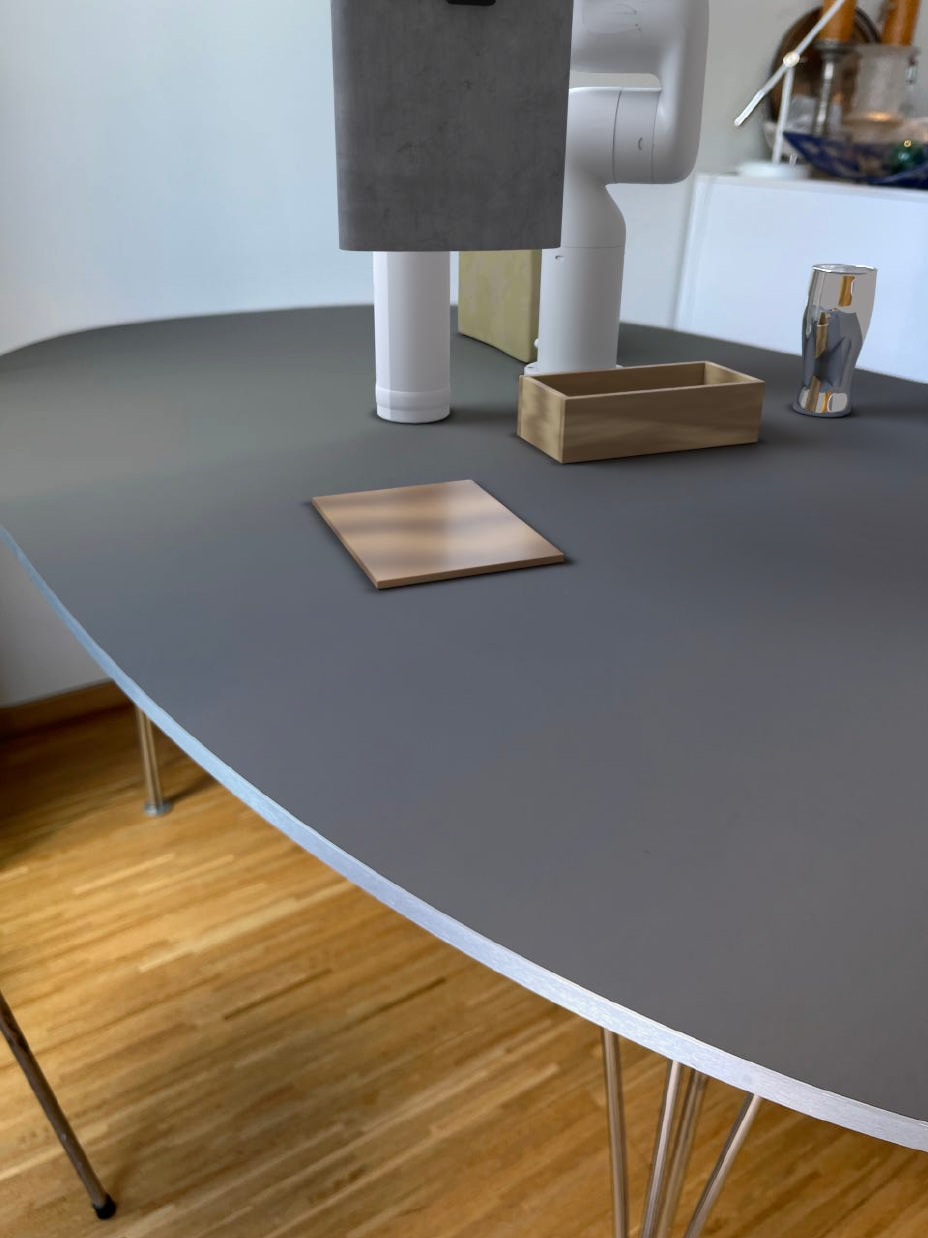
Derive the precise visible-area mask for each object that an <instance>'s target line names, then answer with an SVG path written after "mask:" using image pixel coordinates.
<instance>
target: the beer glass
mask: <svg viewBox="0 0 928 1238" xmlns="http://www.w3.org/2000/svg"><path fill="white" fill-rule="evenodd" d="M810 269H811V270H810V274H809V278H808V282H807V286H806V291H805V294H804V295H805V296H804V302H803V307H802V316H801V374H800V379H799V385H798V388H797V391H796V394H795V396H794V399H793V403H792V409H793V410H794V412H797V413H799V414H803V415H807V416H812V417H819V418H840V417H846V416H848V415H849V414H850V413H851V410H852V409H851V408H852V407H851V406H852V403H851V400H852V399H851V397H852V396H851V395H852V394H851V391H852V383H853V382H852V381H853V376H854V372H855V369H856V366H857V363H858V360H859V357H860V355H861V352H862V349H863V347H864V344H865V341H866V338H867V335H868V332H869V329H870V325H871V321H872V315H873V311H874V306H875V305H874V304H875V299H876V298H875V297H876V288H877V277H878V272H879V270H878V268H876V267H873V266H869V265H860V264H853V263H851V264H850V263H818V264H814V265H812V266H811V268H810Z"/></svg>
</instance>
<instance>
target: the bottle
mask: <svg viewBox="0 0 928 1238" xmlns="http://www.w3.org/2000/svg"><path fill="white" fill-rule="evenodd" d="M372 268H373V269H372V271H373V272H372V273H373V305H374V306H373V308H374V341H375V342H374V343H375V345H374V346H375V347H374V348H375V378H376V379H375V402H376V413H377V414H376V415H377V416H378V417H380V418H381V419H383V420H385V421H389V422H393V423H400V424H427V423H428V424H429V423H434V422H438V421H440V420H444V419H445V418H447V417H448V416H449V415H450V414H451V413H450V411H451V408H450V407H451V405H450V403H451V399H452V398H451V397H452V394H451V393H452V390H451V389H452V388H451V384H450V383H451V358H450V357H451V251H443V252H375V251H372Z"/></svg>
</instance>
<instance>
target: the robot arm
mask: <svg viewBox="0 0 928 1238" xmlns="http://www.w3.org/2000/svg"><path fill="white" fill-rule="evenodd" d="M446 1H447V2H448V3H449V4H452V5H472V6H491V5H494V4H495V2H496V0H446ZM709 29H710V0H574V5H573V24H572V43H571V62H570V71H573V72H577V73H589V74H643V75H644V74H645V75H646V74H648V75H649V74H650V75H654V76H655V77H656V78H657V79H658V81H659V84H660V87H625V86H581V87H580V86H579V87H578V86H577V87H572V88H569V99H568V118H567V137H566V155H565V174H564V193H563V211H562V230H561V247H560V248H555V249H542V265H541V288H540V312H539V335H538V339H536V340H535V343H534V345H535V347H536V348H537V349H538V358H537V362H534V363H527V365H526V366H525V367H524V369H523V375H531V374H543V373H556V372H569V371H581V370H594V369H607V368H619V367H623V366H622V365H619V364H617V358H618V344H619V331H620V320H621V319H620V318H621V309H622V308H621V306H622V292H623V282H624V281H623V280H624V279H623V278H624V267H625V254H626V244H627V243H626V241H627V226H626V225H627V224H626V220H625V218H624V215H623V212H622V210H621V209H620V207H619V206H618V204H617V203H616V201H615V200H614V199H613V197H612V195H611V194H610V193H609V191H608V189H607V186H608V185H618V184H630V185H672V184H673V185H674V184H678V183H681V182H683V181H685V180H686V179H688V177H689V176H690V175H691V173H692V172H693V171H694V169H695V166H696V162H697V159H698V155H699V147H700V141H701V130H702V120H703V107H704V106H703V105H704V94H705V83H706V82H705V81H706V68H707V58H708V44H709V33H710V32H709V31H710V30H709Z"/></svg>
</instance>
